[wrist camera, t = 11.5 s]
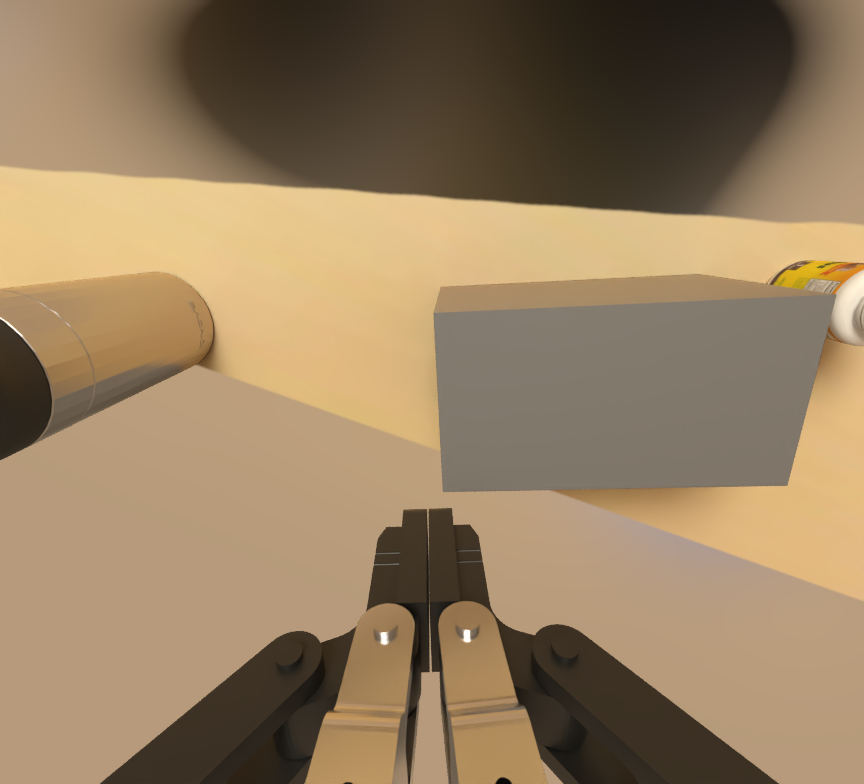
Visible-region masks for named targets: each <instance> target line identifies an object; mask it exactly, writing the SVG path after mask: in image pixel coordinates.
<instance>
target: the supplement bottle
mask: <svg viewBox="0 0 864 784" xmlns="http://www.w3.org/2000/svg"><path fill="white" fill-rule="evenodd" d="M767 284H769V285H776V286H783V287H789V288H796V289H803V290H810V291H817V292H823V293H830V294H837V295H836V299H835V303H834V307H833V311H832V315H831V318H830V322H829V326H828V330H827V334H826V338H827V339H831V340H834V341H838V342H842V343H846V344H850V345H854V346H864V263H847V262H830V261H799V262H795V263H792V264H790V265H788V266H785V267H784V268H782V269H781V270H779V271H778V272H777V273H776V274H775V275H774V276H773V277H772V278H771V279H770V280H769V282H768V283H767Z"/></svg>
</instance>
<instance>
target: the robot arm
mask: <svg viewBox="0 0 864 784" xmlns="http://www.w3.org/2000/svg"><path fill="white" fill-rule="evenodd" d="M212 341H213V323H212V318H211V315H210V312H209V310H208V308H207V306H206V304H205V302H204V301H203V299H202V298H201V297H200V296H199V294H198V293H197V292H196V291H195V290H194V289H193V288H192V287H191V286H189V285H188V284H187V283H185V282H184V281H182V280H180V279H179V278H177V277H174V276H171V275H169V274H165V273H159V272H150V273H139V274H130V275H120V276H111V277H102V278H93V279H84V280H75V281H66V282H57V283H48V284H39V285H30V286H21V287H12V288H3V289H0V460H2V459H4V458H6V457H8V456H10V455H12V454H14V453H16V452H18V451H20V450H22V449H24V448H26V447H28V446H31V445H33V444H35V443H37V442H38V441H41V440H43V439H45V438H47V437H49V436H51V435H53V434H55V433H57V432H59V431H61V430H63V429H65V428H67V427H70V426H72V425H73V424H75V423H77V422H79V421H81V420H83V419H85V418H87V417H89V416H92V415H93V414H96V413H97V412H100V411H102V410H104V409H106V408H108V407H110V406H112V405H114V404H116V403H118V402H120V401H122V400H124V399H126V398H128V397H131V396H133V395H135V394H137V393H139V392H141V391H143V390H145V389H147V388H149V387H151V386H153V385H155V384H157V383H159V382H161V381H163V380H166V379H167V378H170V377H172V376H174V375H176V374H178V373H180V372H182V371H184V370H186V369H188V368H190V367H192V366H194V365H196V364H198V363H199V362H200V361H201V360H202V359H203V358H204V357H205V356H206V355H207V353H208V351H209V350H210V347H211V344H212ZM402 522H403V523H402V527H386V529H385V530H384V531H383V533H382V534H381V535H380V537H379V538H378V542H377V548H376V555H375V561H374V567H373V573H372V580H371V586H370V592H369V599H368V605H367V610H366V612H365V613H364V614H363V615H362V617H361V618H360V620H359V621H358V624H357V626H356V627H355V628H354V629H352V630H351V631H350V632H348V633H346V634H344V635H342V636H339V637H337V638H334V639H331V640H328V641H325V642H322V643H320V642H319V640H318V639H317V637H316V636H314V635H313V634H311V633H308V632H304V631H295V632H290V633H287V634H284V635H282V636H280V637H278V638H276V639H275V640H274V641H272V642H271V643H270V644H269V645H267V646H266V647H265V648H264V649H263V650H261V651H260V652H259V653H258V654H256V655H255V656H254V657H253V658H252V659H250V660H249V661H248V662H247V663H246V664H244V665H243V666H242V667H241V668H240V669H239V670H237V671H236V672H235V673H233V674H232V675H231V676H230V677H229V678H227V679H226V680H225V681H224V682H223V683H221V684H220V685H219V686H218V687H216V688H215V689H214V690H213V691H212V692H210V693H209V694H208V695H207V696H206V697H204V698H203V699H202V700H201V701H200V702H199V703H197V704H196V705H195V706H193V707H192V708H191V709H190V710H189V711H187V712H186V713H185V714H184V715H183V716H181V717H180V718H179V719H178V720H177V721H175V722H174V723H173V724H172V725H170V726H169V727H168V728H167V729H166V730H164V731H163V732H162V733H161V734H160V735H158V736H157V737H156V738H155V739H154V740H152V741H151V742H150V743H149V744H148V745H146V746H145V747H144V748H143V749H141V750H140V751H139V752H138V753H137V754H135V755H134V756H133V757H132V758H131V759H129V760H128V761H127V762H126V763H124V764H123V765H122V766H121V767H120V768H118V769H117V770H116V771H115V772H114V773H112V774H111V775H110V776H109V777H107V778H106V779H105V780H104V781H103V782H102V783H100V784H304V783H305V784H412V782H413V771H414V770H413V769H414V759H415V748H416V736H417V724H418V714H419V698H420V695H421V672H429V604H430V628H431V654H432V672H440V698H441V714H442V723H443V733H444V743H445V753H446V763H447V772H448V782H449V784H548V783H547V779H546V776H545V772H544V769H543V765H542V762H541V759H542V760H543V762H544V763H545V764H546V765H547V766H548V767H549V768H550V769H551V770H552V771H553V773H554V774H555V775H556V776H557V777H558V778H559V779H560V780H561V781H562V782H563V783H564V784H778V783H777V782H776V781H774V780H773V779H772V778H770V777H769V776H768V775H767V774H765V773H764V772H763V771H761V770H760V769H759V768H758V767H756V766H755V765H754V764H752V763H751V762H750V761H748V760H747V759H745V758H744V757H743V756H742V755H741V754H739V753H738V752H736V751H735V750H734V749H732V748H731V747H730V746H729V745H727V744H726V743H725V742H724V741H722V740H721V739H719V738H718V737H717V736H716V735H714V734H713V733H712V732H710V731H709V730H708V729H707V728H705V727H704V726H703V725H701V724H700V723H699V722H697V721H696V720H695V719H693V718H692V717H691V716H690V715H688V714H687V713H685V712H684V711H683V710H682V709H680V708H679V707H678V706H677V705H675V704H674V703H672V702H671V701H670V700H669V699H667V698H666V697H665V696H663V695H662V694H661V693H659V692H658V691H657V690H656V689H654V688H653V687H652V686H650V685H649V684H648V683H647V682H645V681H644V680H643V679H641V678H640V677H639V676H637V675H636V674H635V673H633V672H632V671H631V670H629V669H628V668H627V667H626V666H624V665H623V664H622V663H620V662H619V661H618V660H616V659H615V658H614V657H613V656H611V655H610V654H609V653H607V652H606V651H605V650H603V649H602V648H601V647H599V646H598V645H597V644H595V643H594V642H593V641H592V640H590V639H589V638H588V637H586V636H585V635H583V634H582V633H581V632H579V631H578V630H576V629H574V628H572V627H569V626H565V625H559V624H556V625H549V626H546V627H543V628H542V629H540V630H539V631H538V632H537V633H536V635H531V634H527V633H524V632H520V631H517V630H514V629H512V628H510V627H508V626H506V625H505V624H503V623H502V622H501V621H499V619H498V618H497V617H496V616H495V614H494V613H493V611H492V609H491V606H490V602H489V596H488V590H487V584H486V578H485V572H484V566H483V562H482V555H481V550H480V543H479V537H478V535H477V534H476V532H475V531H474V530H473V529H472V527H471V526H470V525H453V516H452V508H443V509H429V555H428V530H427V509H412V510H404V511H403V521H402Z"/></svg>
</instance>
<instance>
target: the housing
mask: <svg viewBox="0 0 864 784" xmlns="http://www.w3.org/2000/svg"><path fill="white" fill-rule="evenodd" d="M836 295H837V294H830V293H823V292H817V291H810V290H803V289H796V288H789V287H783V286H776V285H769V284H762V283H756V282H749V281H742V280H735V279H728V278H722V277H715V276H708V275H701V274H692V275H672V276H652V277H632V278H612V279H592V280H572V281H552V282H532V283H512V284H492V285H472V286H452V287H441V289H440V292H439V296H438V299H437V303H436V306H435V310H434V330H435V349H436V368H437V387H438V406H439V425H440V444H441V463H442V481H443V492H465V491H516V490H517V491H520V490H574V489H629V488H684V487H739V486H787V485H788V481H789V477H790V473H791V469H792V465H793V461H794V457H795V454H796V450H797V446H798V442H799V438H800V434H801V430H802V427H803V423H804V419H805V415H806V411H807V407H808V403H809V400H810V396H811V392H812V388H813V384H814V380H815V376H816V372H817V369H818V365H819V361H820V357H821V353H822V349H823V345H824V342H825V338H826V334H827V330H828V326H829V322H830V318H831V315H832V311H833V307H834V303H835V299H836Z"/></svg>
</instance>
